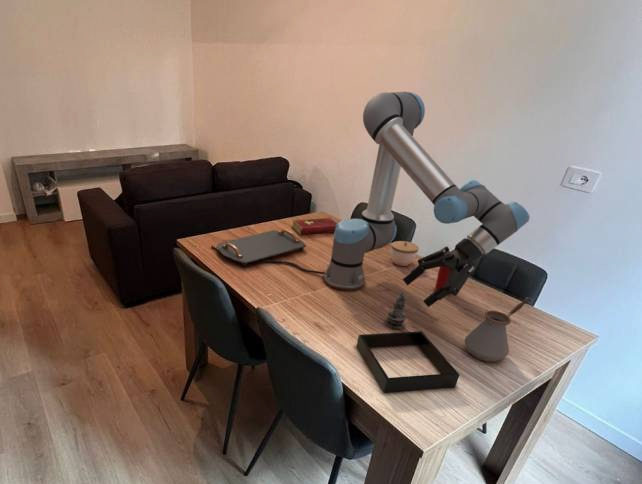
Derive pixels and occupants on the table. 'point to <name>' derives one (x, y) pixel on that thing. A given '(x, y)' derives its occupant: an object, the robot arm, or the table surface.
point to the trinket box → (403, 252)
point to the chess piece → (397, 313)
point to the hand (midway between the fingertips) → (414, 292)
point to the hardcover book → (314, 226)
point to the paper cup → (442, 277)
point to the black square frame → (409, 383)
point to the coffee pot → (491, 335)
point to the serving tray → (260, 246)
